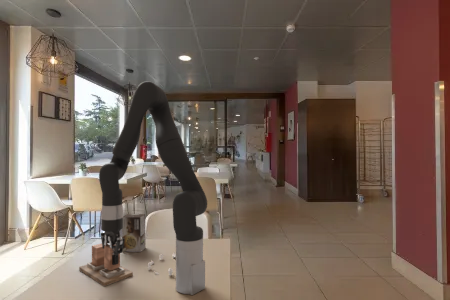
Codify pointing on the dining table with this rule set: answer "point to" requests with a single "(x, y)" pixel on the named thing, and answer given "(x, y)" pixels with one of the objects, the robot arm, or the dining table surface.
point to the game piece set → (162, 259)
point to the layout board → (103, 268)
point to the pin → (109, 258)
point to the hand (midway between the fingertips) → (112, 262)
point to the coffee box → (134, 232)
